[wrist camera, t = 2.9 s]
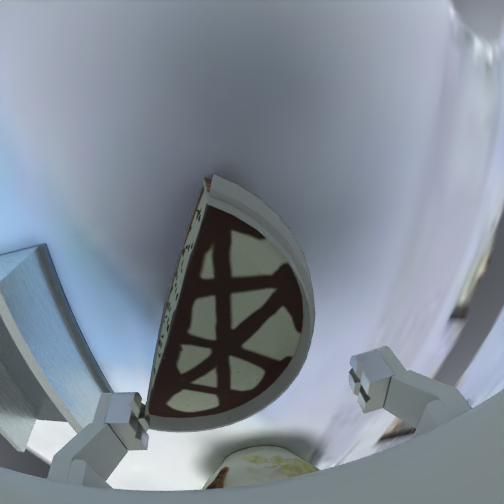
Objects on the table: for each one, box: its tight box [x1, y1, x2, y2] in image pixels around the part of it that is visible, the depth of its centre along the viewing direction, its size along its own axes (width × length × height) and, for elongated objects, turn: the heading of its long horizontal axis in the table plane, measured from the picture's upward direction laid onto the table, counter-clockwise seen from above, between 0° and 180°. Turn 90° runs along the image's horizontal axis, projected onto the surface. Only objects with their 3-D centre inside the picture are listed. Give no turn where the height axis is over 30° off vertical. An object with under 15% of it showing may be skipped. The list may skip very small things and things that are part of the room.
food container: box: [146, 174, 315, 432], centre depth 16 cm, size 12×6×10 cm, turn 159°
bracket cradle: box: [0, 244, 113, 452], centre depth 19 cm, size 19×13×6 cm
